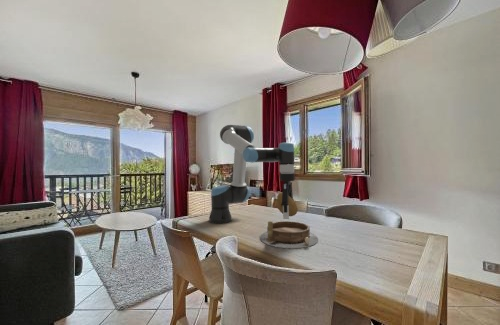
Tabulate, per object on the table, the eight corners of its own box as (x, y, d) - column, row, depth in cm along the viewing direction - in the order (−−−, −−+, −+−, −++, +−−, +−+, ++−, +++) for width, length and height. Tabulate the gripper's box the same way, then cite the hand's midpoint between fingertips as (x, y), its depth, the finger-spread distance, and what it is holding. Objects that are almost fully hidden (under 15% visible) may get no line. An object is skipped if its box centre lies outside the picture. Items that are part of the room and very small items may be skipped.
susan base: (252, 244, 108) (252, 236, 108) (268, 228, 135) (268, 221, 135) (316, 251, 98) (316, 242, 98) (319, 231, 125) (319, 225, 125)
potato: (268, 201, 115) (274, 191, 121) (283, 222, 118) (288, 212, 124) (284, 197, 109) (289, 187, 115) (299, 219, 112) (303, 208, 118)
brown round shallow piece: (286, 227, 131) (285, 211, 131) (318, 235, 115) (317, 217, 115) (253, 236, 115) (252, 218, 115) (285, 248, 99) (284, 227, 99)
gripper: (290, 174, 104) (291, 222, 104) (297, 172, 126) (298, 211, 126) (274, 174, 107) (275, 221, 107) (284, 172, 129) (285, 211, 129)
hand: (288, 216), depth 116 cm, fingers closed on potato, 11 cm apart
